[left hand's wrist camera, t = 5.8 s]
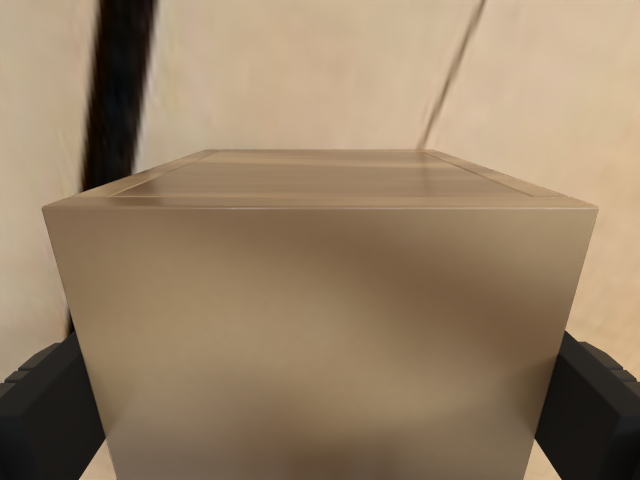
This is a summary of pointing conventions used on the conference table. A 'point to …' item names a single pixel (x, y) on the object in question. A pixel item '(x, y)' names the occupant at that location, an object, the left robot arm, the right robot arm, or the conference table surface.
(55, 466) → the left robot arm
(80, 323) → the cabinet
